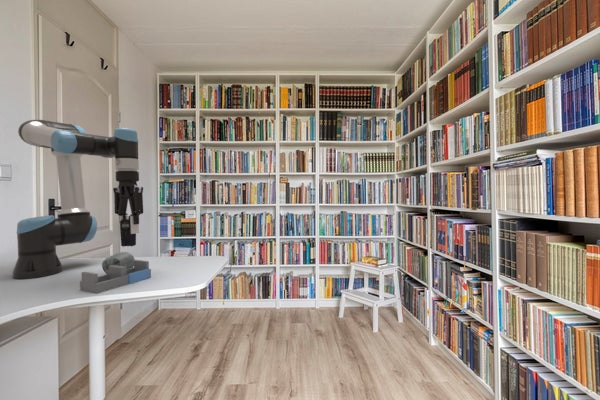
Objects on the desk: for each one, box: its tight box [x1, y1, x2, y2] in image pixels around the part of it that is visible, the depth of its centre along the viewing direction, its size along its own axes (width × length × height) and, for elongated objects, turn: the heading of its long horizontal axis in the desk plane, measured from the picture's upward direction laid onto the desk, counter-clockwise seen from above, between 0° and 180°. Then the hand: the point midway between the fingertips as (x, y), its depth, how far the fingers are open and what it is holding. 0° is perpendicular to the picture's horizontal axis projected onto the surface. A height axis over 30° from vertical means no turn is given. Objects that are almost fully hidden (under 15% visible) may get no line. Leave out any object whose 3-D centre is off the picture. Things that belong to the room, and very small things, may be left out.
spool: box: [101, 251, 136, 275], centre depth 122 cm, size 14×10×10 cm
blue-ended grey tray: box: [79, 259, 152, 294], centre depth 107 cm, size 10×20×6 cm, turn 155°
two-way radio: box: [119, 206, 137, 247], centre depth 112 cm, size 6×4×15 cm
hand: (129, 232), depth 112 cm, fingers closed on two-way radio, 5 cm apart
